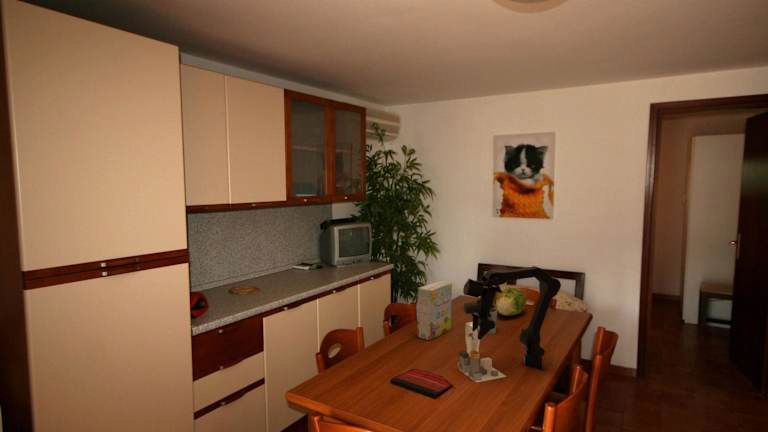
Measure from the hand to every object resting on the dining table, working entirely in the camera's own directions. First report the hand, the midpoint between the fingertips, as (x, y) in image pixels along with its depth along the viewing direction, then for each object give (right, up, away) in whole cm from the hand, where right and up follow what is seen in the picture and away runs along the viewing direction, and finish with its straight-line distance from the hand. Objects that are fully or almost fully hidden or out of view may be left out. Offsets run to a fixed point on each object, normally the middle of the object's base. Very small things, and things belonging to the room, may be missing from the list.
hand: (476, 335), depth 182 cm
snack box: (-12, -12, +44) cm, 47 cm away
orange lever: (-3, -13, -10) cm, 16 cm away
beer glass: (+1, -14, +14) cm, 19 cm away
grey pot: (+16, -11, +47) cm, 51 cm away
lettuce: (+35, -9, +74) cm, 82 cm away
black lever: (-6, -12, -3) cm, 14 cm away
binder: (-23, -16, -12) cm, 31 cm away
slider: (+4, -14, -2) cm, 14 cm away
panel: (+1, -15, -5) cm, 16 cm away
